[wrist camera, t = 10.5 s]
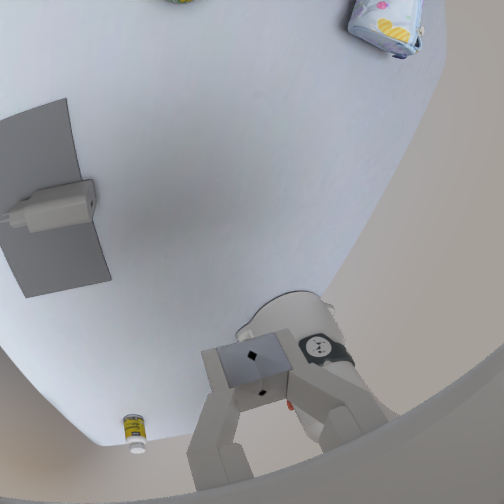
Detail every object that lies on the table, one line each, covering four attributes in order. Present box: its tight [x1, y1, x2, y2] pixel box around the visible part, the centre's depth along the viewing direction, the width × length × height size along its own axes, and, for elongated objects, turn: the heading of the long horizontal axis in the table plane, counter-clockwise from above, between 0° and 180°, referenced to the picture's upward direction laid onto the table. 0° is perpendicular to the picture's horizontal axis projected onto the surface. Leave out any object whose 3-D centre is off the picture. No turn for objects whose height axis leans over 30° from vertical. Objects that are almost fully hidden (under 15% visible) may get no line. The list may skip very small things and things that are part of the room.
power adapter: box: [0, 180, 96, 233], centre depth 28 cm, size 3×5×12 cm
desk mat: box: [0, 98, 111, 298], centre depth 31 cm, size 24×14×1 cm, turn 1°
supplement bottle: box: [124, 415, 147, 453], centre depth 56 cm, size 5×5×8 cm
